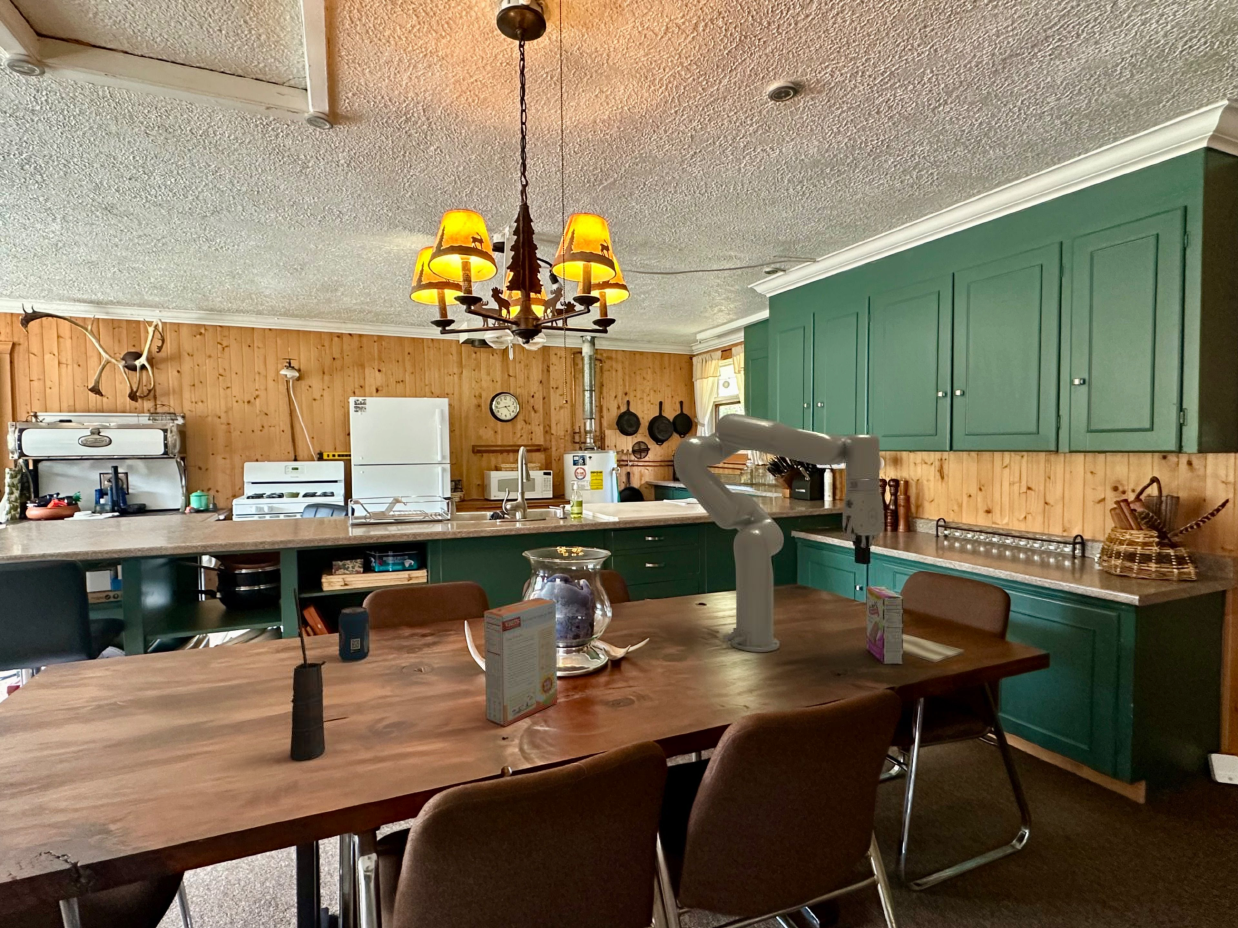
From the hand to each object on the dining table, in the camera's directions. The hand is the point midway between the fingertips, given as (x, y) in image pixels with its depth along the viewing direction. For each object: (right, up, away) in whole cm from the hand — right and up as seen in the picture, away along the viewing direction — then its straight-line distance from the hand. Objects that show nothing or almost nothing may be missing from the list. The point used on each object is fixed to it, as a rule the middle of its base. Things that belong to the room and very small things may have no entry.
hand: (862, 563), depth 146 cm
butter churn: (-109, -25, -42) cm, 120 cm away
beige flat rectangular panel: (+19, -24, +13) cm, 33 cm away
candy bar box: (+7, -24, +5) cm, 26 cm away
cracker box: (-77, -25, -26) cm, 85 cm away
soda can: (-123, -24, +5) cm, 125 cm away
